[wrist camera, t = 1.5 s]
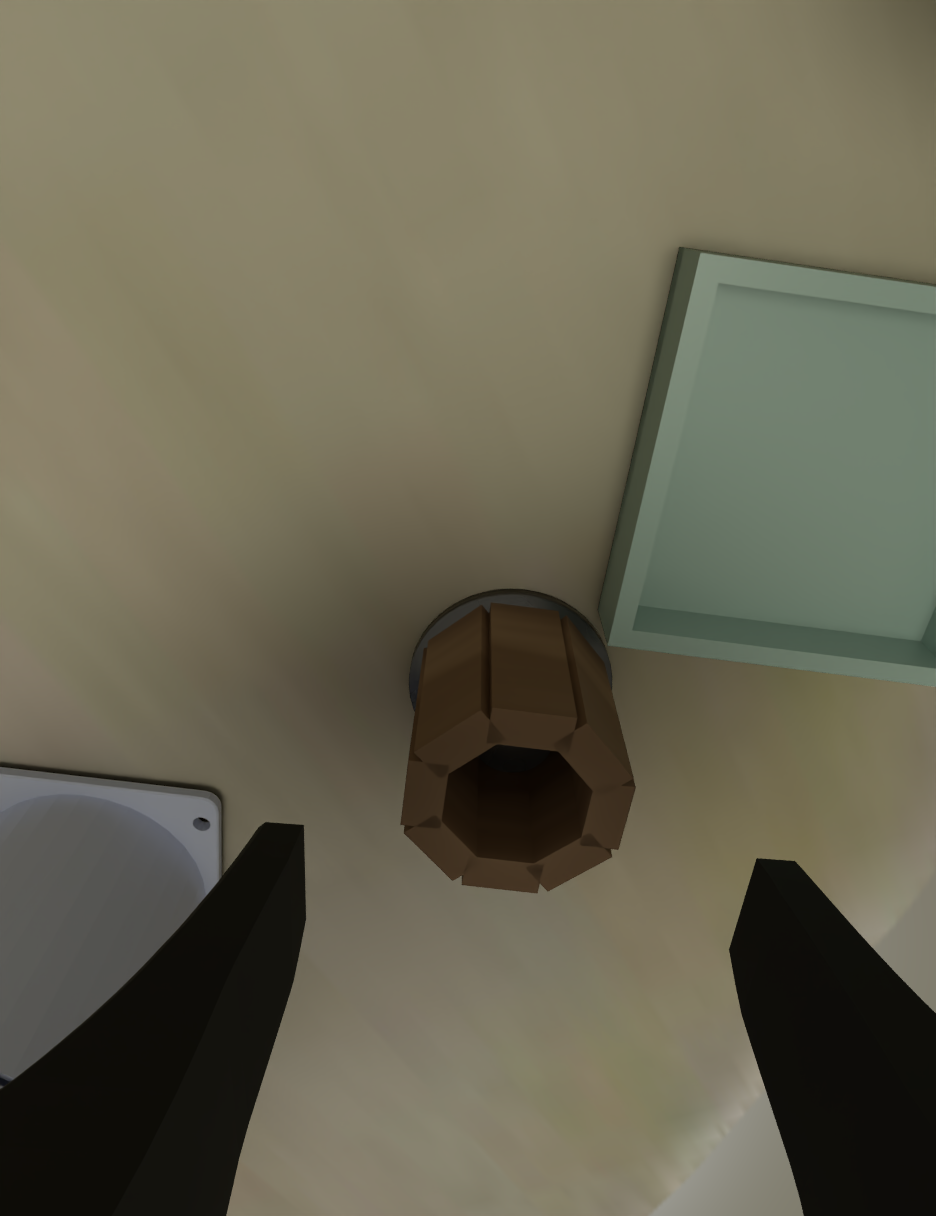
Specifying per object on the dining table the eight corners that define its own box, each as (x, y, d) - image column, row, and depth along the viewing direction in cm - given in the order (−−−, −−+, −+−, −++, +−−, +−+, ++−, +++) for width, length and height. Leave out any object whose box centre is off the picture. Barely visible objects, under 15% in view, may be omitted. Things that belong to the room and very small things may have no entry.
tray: (923, 650, 23) (960, 690, 21) (597, 609, 22) (607, 645, 20) (1072, 304, 19) (1135, 316, 17) (679, 247, 18) (700, 252, 16)
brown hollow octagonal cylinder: (430, 594, 22) (415, 698, 17) (618, 618, 22) (652, 726, 17) (407, 777, 24) (390, 908, 20) (575, 797, 25) (595, 931, 20)
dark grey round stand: (588, 771, 25) (600, 838, 22) (400, 748, 24) (391, 814, 22) (629, 603, 22) (648, 657, 20) (421, 576, 22) (412, 627, 19)
